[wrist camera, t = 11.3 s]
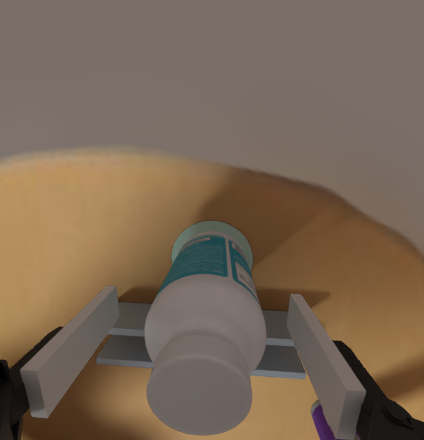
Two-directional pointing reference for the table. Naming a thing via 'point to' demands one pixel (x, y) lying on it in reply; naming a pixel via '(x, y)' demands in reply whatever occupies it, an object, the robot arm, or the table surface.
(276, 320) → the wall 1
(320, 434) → the container
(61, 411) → the table surface
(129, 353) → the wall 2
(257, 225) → the table surface
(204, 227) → the spot
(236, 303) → the pill bottle
